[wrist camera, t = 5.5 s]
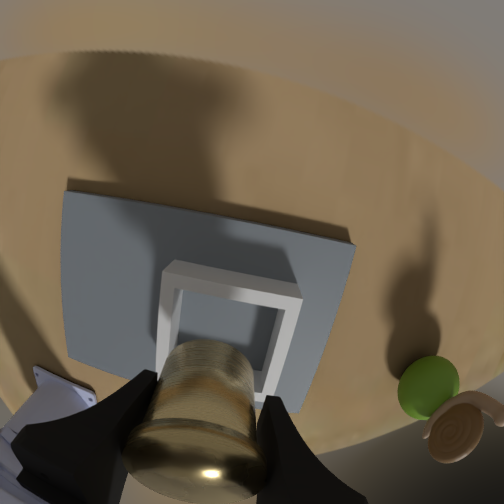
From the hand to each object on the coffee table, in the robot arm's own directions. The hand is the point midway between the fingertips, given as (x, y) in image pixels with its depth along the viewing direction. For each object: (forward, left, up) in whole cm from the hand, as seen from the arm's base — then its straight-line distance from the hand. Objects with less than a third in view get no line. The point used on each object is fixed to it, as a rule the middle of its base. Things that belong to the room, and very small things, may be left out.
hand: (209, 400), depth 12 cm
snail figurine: (-2, -17, -9) cm, 19 cm away
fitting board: (0, +3, -8) cm, 9 cm away
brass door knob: (0, 0, -2) cm, 2 cm away
